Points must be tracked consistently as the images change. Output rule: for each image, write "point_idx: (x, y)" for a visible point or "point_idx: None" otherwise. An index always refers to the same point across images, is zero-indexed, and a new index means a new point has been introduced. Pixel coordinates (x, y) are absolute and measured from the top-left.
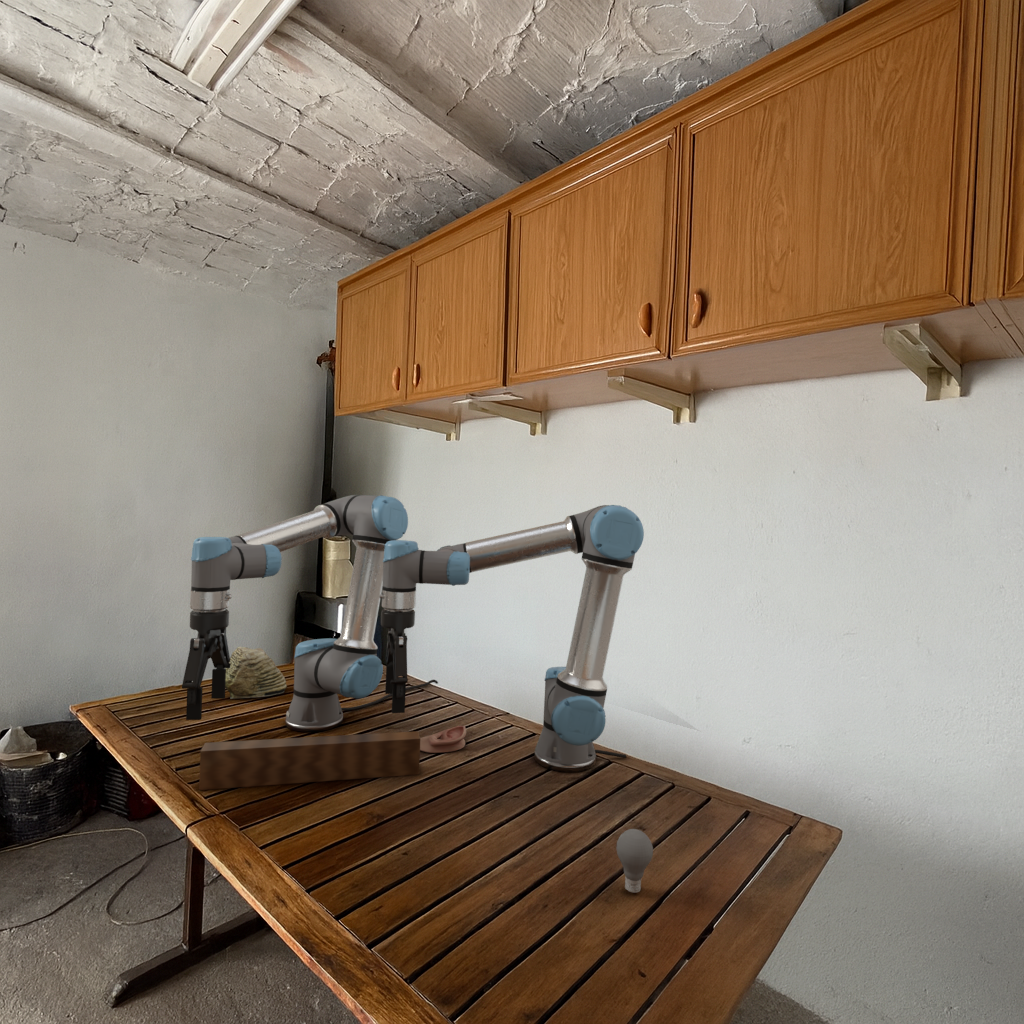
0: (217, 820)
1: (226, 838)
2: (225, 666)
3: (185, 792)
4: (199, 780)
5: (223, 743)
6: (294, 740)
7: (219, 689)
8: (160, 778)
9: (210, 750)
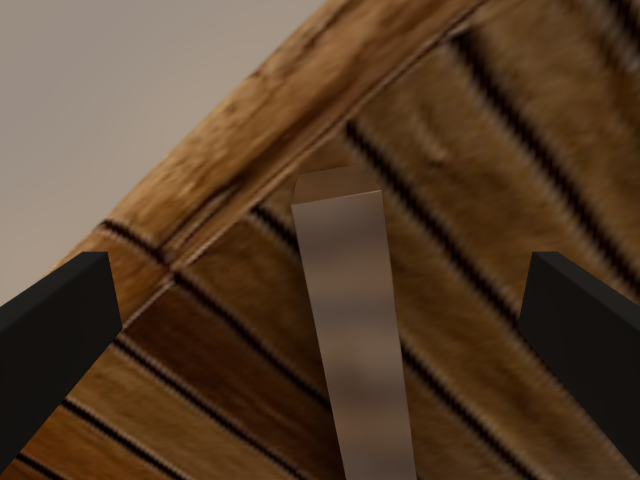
0: (139, 278)
1: None
2: None
3: (284, 139)
4: (297, 180)
5: (370, 263)
6: (390, 464)
7: (559, 339)
8: (387, 9)
9: (298, 240)
